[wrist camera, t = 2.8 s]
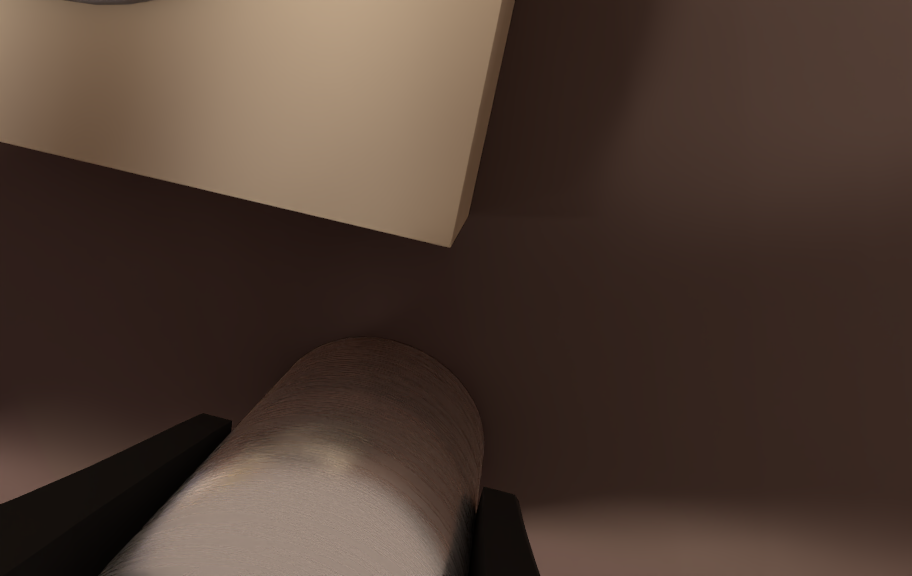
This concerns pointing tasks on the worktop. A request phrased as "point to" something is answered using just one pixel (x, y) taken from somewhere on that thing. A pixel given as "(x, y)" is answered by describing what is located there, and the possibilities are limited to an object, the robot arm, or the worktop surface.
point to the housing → (331, 477)
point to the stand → (267, 99)
